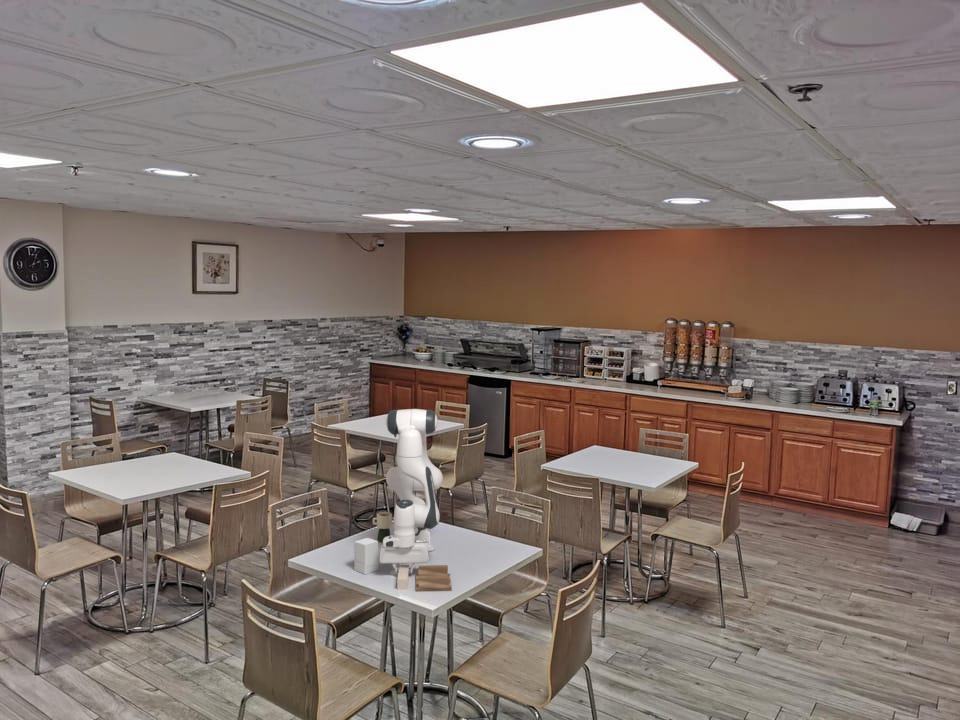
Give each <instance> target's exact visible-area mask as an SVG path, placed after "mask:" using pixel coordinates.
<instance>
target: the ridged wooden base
mask: <svg viewBox="0 0 960 720" xmlns="http://www.w3.org/2000/svg"><path fill="white" fill-rule="evenodd" d="M448 566H449V565H447V564H445V565H444V564H443V565H440V564H437V565H436V564H435V565H432V564H431V565H430V564H429V565H418V573H416V574H415V591H416V592H448V591H449V592H452V591H453V589H452V581H451V580H452V579H451V574H450V573H449V572H448V571H449V567H448Z"/></svg>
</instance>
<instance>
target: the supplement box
mask: <svg viewBox="0 0 960 720" xmlns="http://www.w3.org/2000/svg"><path fill="white" fill-rule="evenodd" d="M353 543H354V545H353V546H354V548H353V549H354V552H353V553H354V554H353V555H354V557H353V559H354V562H353V563H354V565H353V567H354V569H353V570H354V571H356V572H358V573H361V574H364V575H368V574H370V573H374V572H376V571H378V570H379V540H375V539H373V538H369V537H365V538H362V539H359V540H355V541H354V542H353Z"/></svg>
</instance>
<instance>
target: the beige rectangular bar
mask: <svg viewBox="0 0 960 720" xmlns="http://www.w3.org/2000/svg"><path fill="white" fill-rule="evenodd" d="M398 566H399V567H398V568H399V572H398V573H397V584H396V585H397V588H396V589H397V590H408V588H409V576H410V573H409V568H410V565H409V564H399V565H398Z"/></svg>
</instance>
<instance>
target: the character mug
mask: <svg viewBox="0 0 960 720" xmlns="http://www.w3.org/2000/svg"><path fill="white" fill-rule="evenodd" d="M393 520H394V516H393V514H392V512H389V511H380V512H378V513H376V517H373V518H372V525H376V527H377V529H378V531H377V532H378V533H377V541H378V542H382V543H383V539H384V538H385V537H387V536H391V535H392V534H391V529H390V528H392V526H393V525H394V521H393Z"/></svg>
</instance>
